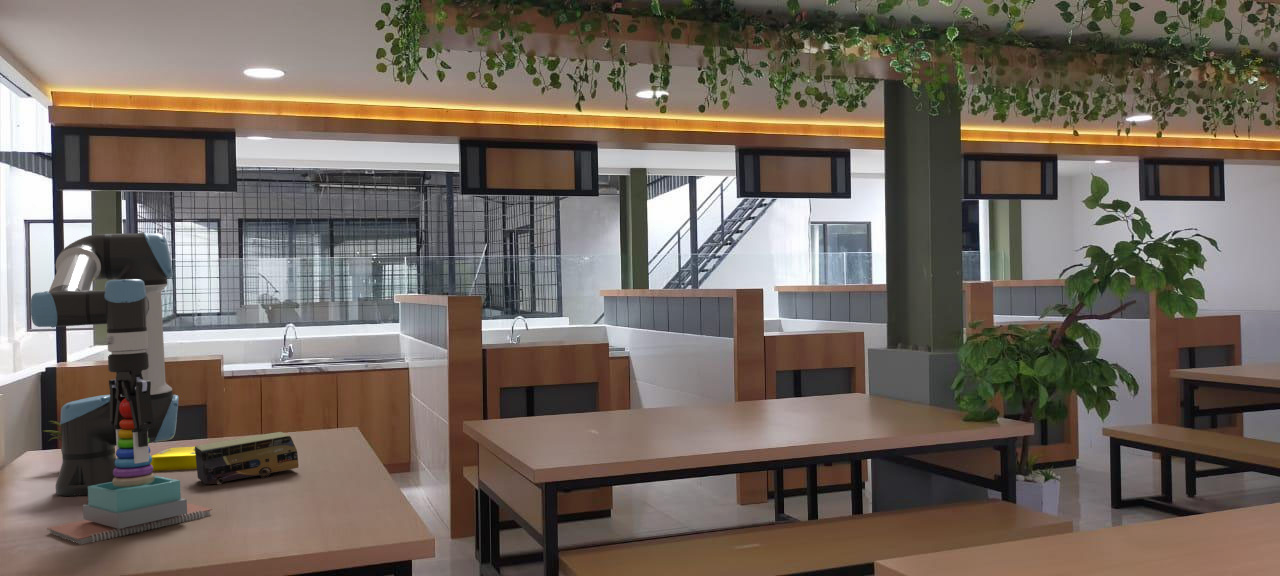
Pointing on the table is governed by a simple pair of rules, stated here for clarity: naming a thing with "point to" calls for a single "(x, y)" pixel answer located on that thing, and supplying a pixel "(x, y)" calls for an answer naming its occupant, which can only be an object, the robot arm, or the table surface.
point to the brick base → (135, 514)
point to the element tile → (174, 459)
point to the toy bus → (245, 457)
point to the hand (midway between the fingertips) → (133, 460)
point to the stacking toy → (129, 455)
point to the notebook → (95, 531)
